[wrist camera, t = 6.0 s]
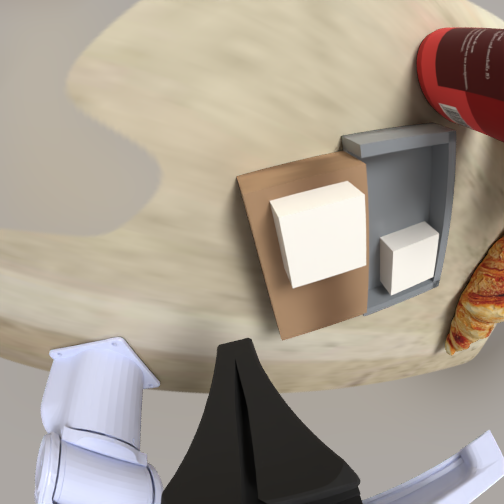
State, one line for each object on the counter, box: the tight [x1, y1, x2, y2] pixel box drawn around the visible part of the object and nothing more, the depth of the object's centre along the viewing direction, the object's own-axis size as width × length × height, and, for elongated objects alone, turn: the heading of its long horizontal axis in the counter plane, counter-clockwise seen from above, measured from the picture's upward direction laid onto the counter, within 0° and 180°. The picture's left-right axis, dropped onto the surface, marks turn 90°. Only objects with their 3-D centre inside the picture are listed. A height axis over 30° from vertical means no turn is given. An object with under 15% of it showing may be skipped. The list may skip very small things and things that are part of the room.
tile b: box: [270, 181, 366, 288], centre depth 16 cm, size 4×4×2 cm
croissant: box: [445, 237, 504, 355], centre depth 27 cm, size 21×10×8 cm, turn 174°
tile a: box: [380, 221, 439, 295], centre depth 21 cm, size 4×4×2 cm
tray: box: [341, 123, 456, 316], centre depth 20 cm, size 8×14×2 cm, turn 13°
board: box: [237, 151, 369, 340], centre depth 19 cm, size 7×12×3 cm, turn 13°
